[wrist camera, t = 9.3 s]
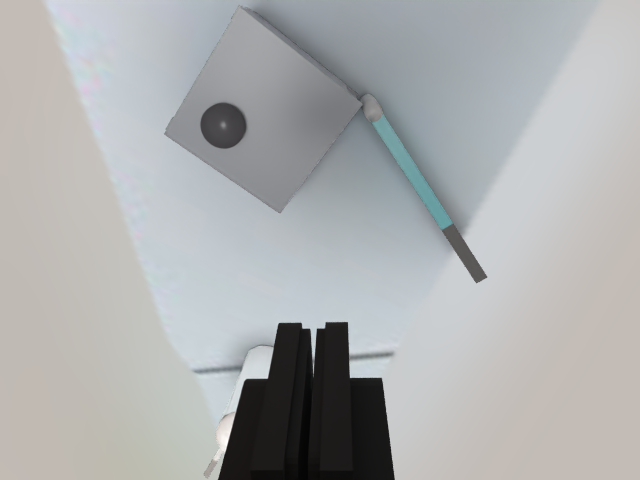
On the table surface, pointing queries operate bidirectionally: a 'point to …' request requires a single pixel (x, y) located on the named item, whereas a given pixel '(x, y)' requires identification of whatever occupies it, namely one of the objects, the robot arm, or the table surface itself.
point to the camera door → (420, 185)
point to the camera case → (262, 110)
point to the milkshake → (252, 368)
